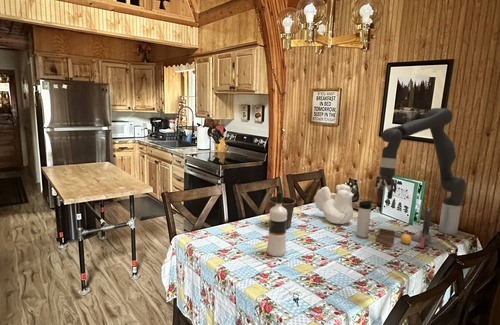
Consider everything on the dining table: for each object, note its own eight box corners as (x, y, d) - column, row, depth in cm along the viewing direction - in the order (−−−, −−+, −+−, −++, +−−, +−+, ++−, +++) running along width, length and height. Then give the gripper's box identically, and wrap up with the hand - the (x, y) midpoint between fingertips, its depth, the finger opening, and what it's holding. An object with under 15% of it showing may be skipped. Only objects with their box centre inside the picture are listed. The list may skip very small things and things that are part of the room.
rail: (386, 232, 184) (386, 230, 183) (431, 240, 174) (431, 238, 174) (385, 235, 179) (385, 233, 179) (432, 244, 169) (432, 241, 169)
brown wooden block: (377, 234, 180) (378, 227, 179) (394, 237, 176) (395, 230, 176) (376, 242, 169) (376, 234, 169) (393, 245, 166) (394, 238, 165)
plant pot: (298, 225, 190) (300, 199, 188) (287, 233, 177) (288, 205, 174) (274, 219, 199) (276, 194, 196) (261, 227, 185) (263, 200, 183)
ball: (400, 240, 172) (401, 232, 172) (410, 242, 170) (411, 233, 169) (400, 244, 168) (401, 235, 167) (410, 246, 166) (411, 237, 165)
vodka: (282, 258, 146) (286, 195, 141) (263, 254, 150) (266, 193, 145) (288, 250, 155) (291, 191, 150) (270, 247, 158) (272, 188, 153)
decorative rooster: (357, 223, 197) (360, 184, 193) (342, 229, 187) (345, 187, 183) (324, 213, 216) (327, 177, 212) (309, 217, 206) (311, 179, 202)
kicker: (419, 237, 176) (423, 206, 173) (429, 239, 174) (433, 207, 171) (420, 247, 163) (424, 213, 161) (431, 249, 161) (435, 215, 158)
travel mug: (369, 239, 173) (373, 203, 170) (356, 237, 174) (360, 202, 171) (367, 234, 179) (371, 200, 176) (355, 233, 180) (358, 199, 177)
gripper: (403, 168, 161) (399, 200, 162) (385, 166, 175) (381, 195, 176) (390, 167, 159) (386, 199, 160) (373, 165, 173) (369, 194, 174)
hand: (384, 197), depth 168 cm, fingers open, 8 cm apart
